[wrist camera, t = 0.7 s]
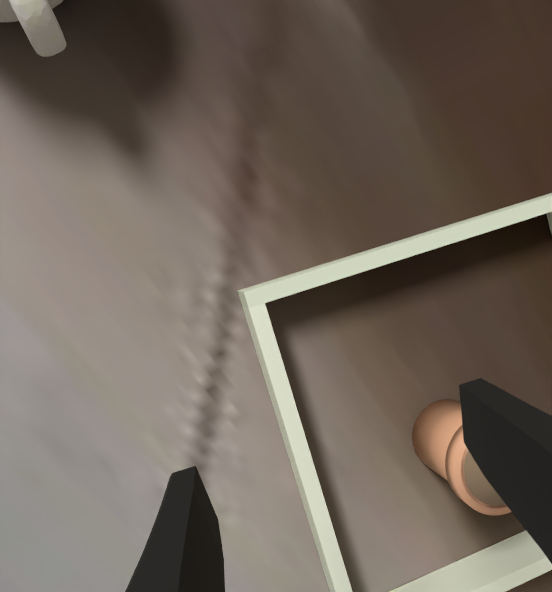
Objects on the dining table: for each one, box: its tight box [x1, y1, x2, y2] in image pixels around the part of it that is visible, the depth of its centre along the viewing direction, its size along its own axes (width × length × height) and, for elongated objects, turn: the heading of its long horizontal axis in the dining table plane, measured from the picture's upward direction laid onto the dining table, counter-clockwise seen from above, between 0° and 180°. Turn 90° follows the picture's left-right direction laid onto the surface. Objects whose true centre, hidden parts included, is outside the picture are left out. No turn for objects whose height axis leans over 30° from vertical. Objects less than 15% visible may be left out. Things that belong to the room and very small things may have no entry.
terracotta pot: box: [412, 399, 511, 515], centre depth 32 cm, size 6×6×6 cm
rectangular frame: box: [238, 193, 552, 592], centre depth 33 cm, size 24×24×3 cm
